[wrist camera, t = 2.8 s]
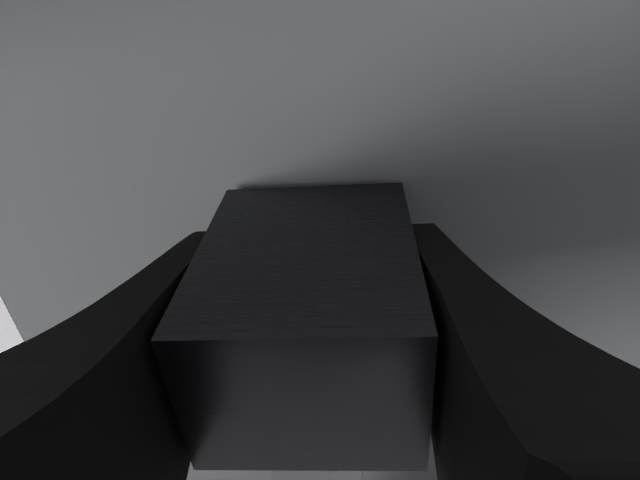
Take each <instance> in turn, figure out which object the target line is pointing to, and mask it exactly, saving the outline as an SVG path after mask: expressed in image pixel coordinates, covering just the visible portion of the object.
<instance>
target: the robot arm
mask: <svg viewBox="0 0 640 480" xmlns="http://www.w3.org/2000/svg"><path fill="white" fill-rule="evenodd" d="M412 227H413V231H414V235H415V240H416V244H417V248H418V252H419V257H420V261H421V265H422V270H423V274H424V278H425V282H426V287H427V291H428V295H429V300H430V304H431V308H432V312H433V317H434V321H435V325H436V330H437V334H438V344H437V357H436V370H435V383H434V395H433V408H432V421H431V434H430V435H431V440H432V445H433V452H434V459H435V466H436V474H437V480H640V369H639V368H637V367H635V366H633V365H631V364H629V363H627V362H625V361H623V360H621V359H619V358H617V357H615V356H613V355H611V354H609V353H607V352H605V351H603V350H601V349H600V348H598V347H596V346H594V345H592V344H590V343H589V342H587V341H585V340H583V339H581V338H579V337H577V336H576V335H574V334H572V333H570V332H569V331H567V330H565V329H564V328H562V327H560V326H559V325H557V324H555V323H554V322H552V321H551V320H549V319H548V318H546V317H545V316H543V315H542V314H540V313H539V312H537V311H535V310H534V309H532V308H531V307H529V306H528V305H527V304H525V303H524V302H522V301H521V300H519V299H518V298H517V297H515V296H514V295H513V294H512V293H510V292H509V291H508V290H506V289H505V288H504V287H503V286H501V285H500V284H499V283H497V282H496V281H495V280H494V279H492V278H491V277H490V276H489V275H488V274H487V273H485V272H484V271H483V270H482V269H481V268H480V267H479V266H477V265H476V264H475V263H474V262H473V261H472V260H471V259H470V258H469V257H468V256H467V255H466V254H464V253H463V252H462V251H461V250H460V249H459V248H458V247H457V246H456V245H455V244H454V243H453V242H452V241H451V240H450V239H449V238H448V237H447V236H446V235H445V234H444V233H443V232H442V231H441V230H440V229H439V228H438V227H437V226H436V225H435V224H434V223H427V224H412ZM205 232H206V231H197V232H193V233H192V234H190V235H189V236H187V237H186V238H184V239H183V240H181V241H180V242H178V243H177V244H176V245H174V246H173V247H172V248H170V249H169V250H168V251H166V252H165V253H164V254H162V255H161V256H160V257H158V258H157V259H156V260H154V261H153V262H152V263H150V264H149V265H148V266H146V267H145V268H144V269H142V270H141V271H139V272H138V273H137V274H135V275H134V276H133V277H131V278H130V279H128V280H127V281H125V282H124V283H122V284H121V285H119V286H118V287H117V288H115V289H114V290H112V291H111V292H109V293H108V294H106V295H105V296H103V297H102V298H100V299H99V300H97V301H96V302H94V303H93V304H91V305H90V306H88V307H86V308H85V309H83V310H82V311H80V312H78V313H77V314H75V315H73V316H72V317H70V318H68V319H66V320H64V321H63V322H61V323H59V324H57V325H55V326H54V327H52V328H50V329H48V330H47V331H45V332H43V333H41V334H39V335H37V336H35V337H33V338H31V339H29V340H27V341H25V342H23V343H21V344H19V345H16V346H14V347H12V348H10V349H8V350H6V351H4V352H2V353H0V480H186V479H187V475H188V471H189V466H190V462H191V460H190V457H189V455H188V452H187V449H186V446H185V443H184V440H183V437H182V434H181V431H180V428H179V425H178V422H177V419H176V416H175V413H174V410H173V407H172V404H171V401H170V398H169V395H168V392H167V389H166V386H165V383H164V380H163V377H162V374H161V371H160V368H159V365H158V363H157V360H156V357H155V354H154V351H153V348H152V345H151V342H150V341H151V339H152V337H153V335H154V333H155V331H156V329H157V327H158V325H159V323H160V321H161V319H162V317H163V315H164V313H165V311H166V309H167V307H168V305H169V303H170V301H171V299H172V297H173V295H174V293H175V291H176V290H177V288H178V286H179V284H180V282H181V280H182V278H183V276H184V274H185V272H186V270H187V268H188V266H189V264H190V262H191V260H192V258H193V256H194V254H195V252H196V250H197V248H198V246H199V244H200V242H201V240H202V238H203V236H204V234H205Z"/></svg>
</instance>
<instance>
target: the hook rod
mask: <svg viewBox="0 0 640 480" xmlns="http://www.w3.org/2000/svg"><path fill="white" fill-rule="evenodd" d="M150 342H151V345H152V348H153V351H154V354H155V357H156V360H157V363H158V365H159V368H160V371H161V374H162V377H163V380H164V383H165V386H166V389H167V392H168V395H169V398H170V401H171V404H172V407H173V410H174V413H175V416H176V419H177V422H178V425H179V428H180V431H181V434H182V437H183V440H184V443H185V446H186V449H187V452H188V455H189V457H190V460H191V463H192V466H193V469H194V470H260V471H272V476H273V480H363V471H428V459H429V446H430V434H431V421H432V408H433V395H434V383H435V370H436V357H437V344H438V334H437V330H436V325H435V321H434V317H433V312H432V308H431V304H430V300H429V295H428V291H427V287H426V282H425V278H424V274H423V270H422V265H421V261H420V257H419V252H418V248H417V244H416V240H415V235H414V231H413V227H412V222H411V218H410V214H409V210H408V205H407V201H406V197H405V192H404V188H403V184H402V182H400V183H376V184H352V185H328V186H304V187H280V188H256V189H232V190H227V191H226V193H225V195H224V197H223V199H222V201H221V203H220V205H219V207H218V209H217V211H216V213H215V215H214V216H213V218H212V220H211V222H210V224H209V226H208V228H207V230H206V232H205V234H204V236H203V238H202V240H201V242H200V244H199V246H198V248H197V250H196V252H195V254H194V256H193V258H192V260H191V262H190V264H189V266H188V268H187V270H186V272H185V274H184V276H183V278H182V280H181V282H180V284H179V286H178V288H177V290H176V291H175V293H174V295H173V297H172V299H171V301H170V303H169V305H168V307H167V309H166V311H165V313H164V315H163V317H162V319H161V321H160V323H159V325H158V327H157V329H156V331H155V333H154V335H153V337H152V339H151V341H150Z"/></svg>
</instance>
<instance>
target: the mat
mask: <svg viewBox="0 0 640 480" xmlns="http://www.w3.org/2000/svg"><path fill="white" fill-rule="evenodd" d="M400 182H402V184H403V188H404V192H405V197H406V201H407V205H408V210H409V214H410V218H411V222H412V224H427V223H434V224H435V225H436V226H437V227H438V228H439V229H440V230H441V231H442V232H443V233H444V234H445V235H446V236H447V237H448V238H449V239H450V240H451V241H452V242H453V243H454V244H455V245H456V246H457V247H458V248H459V249H460V250H461V251H462V252H463V253H464V254H466V255H467V256H468V257H469V258H470V259H471V260H472V261H473V262H474V263H475V264H476V265H477V266H479V267H480V268H481V269H482V270H483V271H484V272H485V273H487V274H488V275H489V276H490V277H491V278H492V279H494V280H495V281H496V282H497V283H499V284H500V285H501V286H503V287H504V288H505V289H506V290H508V291H509V292H510V293H512V294H513V295H514V296H515V297H517V298H518V299H519V300H521V301H522V302H524V303H525V304H527V305H528V306H529V307H531V308H532V309H534V310H535V311H537V312H539V313H540V314H542V315H543V316H545V317H546V318H548V319H549V320H551V321H552V322H554V323H555V324H557V325H559V326H560V327H562V328H564V329H565V330H567V331H569V332H570V333H572V334H574V335H576V336H577V337H579V338H581V339H583V340H585V341H587V342H589V343H590V344H592V345H594V346H596V347H598V348H600V349H601V350H603V351H605V352H607V353H609V354H611V355H613V356H615V357H617V358H619V359H621V360H623V361H625V362H627V363H629V364H631V365H633V366H635V367H637V368H639V369H640V0H0V296H1V298H2V300H3V302H4V304H5V306H6V308H7V310H8V312H9V313H10V315H11V317H12V319H13V321H14V323H15V325H16V327H17V329H18V331H19V333H20V335H21V337H22V338H23V340H24V342H25V341H27V340H29V339H31V338H33V337H35V336H37V335H39V334H41V333H43V332H45V331H47V330H48V329H50V328H52V327H54V326H55V325H57V324H59V323H61V322H63V321H64V320H66V319H68V318H70V317H72V316H73V315H75V314H77V313H78V312H80V311H82V310H83V309H85V308H86V307H88V306H90V305H91V304H93V303H94V302H96V301H97V300H99V299H100V298H102V297H103V296H105V295H106V294H108V293H109V292H111V291H112V290H114V289H115V288H117V287H118V286H119V285H121V284H122V283H124V282H125V281H127V280H128V279H130V278H131V277H133V276H134V275H135V274H137V273H138V272H139V271H141V270H142V269H144V268H145V267H146V266H148V265H149V264H150V263H152V262H153V261H154V260H156V259H157V258H158V257H160V256H161V255H162V254H164V253H165V252H166V251H168V250H169V249H170V248H172V247H173V246H174V245H176V244H177V243H178V242H180V241H181V240H183V239H184V238H186V237H187V236H189V235H190V234H192V233H193V232H197V231H206V230H207V228H208V226H209V224H210V222H211V220H212V218H213V216H214V215H215V213H216V211H217V209H218V207H219V205H220V203H221V201H222V199H223V197H224V195H225V193H226V191H227V190H232V189H256V188H280V187H304V186H328V185H352V184H376V183H400ZM186 480H273V476H272V471H260V470H194V469H193V466H192V463H191V462H190V466H189V471H188V475H187V479H186ZM363 480H437V474H436V466H435V459H434V452H433V445H432V440H431V435H430V446H429V459H428V471H363Z"/></svg>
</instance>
